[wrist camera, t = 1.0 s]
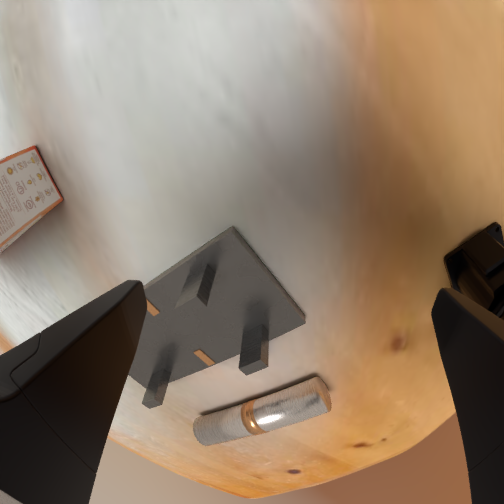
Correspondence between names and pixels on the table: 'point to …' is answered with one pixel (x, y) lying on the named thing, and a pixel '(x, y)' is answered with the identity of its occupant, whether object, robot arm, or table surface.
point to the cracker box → (24, 194)
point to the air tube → (264, 413)
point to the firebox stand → (210, 315)
